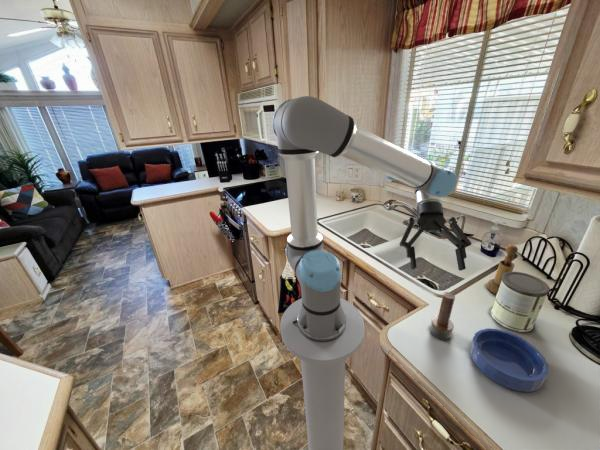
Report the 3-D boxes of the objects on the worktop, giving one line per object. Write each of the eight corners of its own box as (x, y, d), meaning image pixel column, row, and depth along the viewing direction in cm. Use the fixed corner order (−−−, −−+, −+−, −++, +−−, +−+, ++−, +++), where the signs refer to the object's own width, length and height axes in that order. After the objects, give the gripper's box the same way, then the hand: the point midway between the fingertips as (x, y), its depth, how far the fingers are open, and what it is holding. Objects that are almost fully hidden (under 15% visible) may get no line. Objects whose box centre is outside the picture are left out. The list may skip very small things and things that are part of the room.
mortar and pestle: (513, 291, 87) (530, 247, 80) (504, 298, 84) (520, 253, 77) (492, 281, 92) (506, 239, 85) (483, 288, 90) (496, 244, 82)
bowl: (487, 390, 58) (492, 377, 56) (459, 338, 71) (462, 327, 69) (558, 396, 56) (566, 383, 54) (516, 341, 69) (521, 330, 67)
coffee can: (489, 302, 83) (501, 267, 77) (530, 314, 77) (546, 277, 72) (490, 323, 75) (503, 286, 69) (535, 337, 70) (554, 298, 64)
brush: (433, 340, 71) (442, 302, 65) (427, 324, 76) (434, 288, 70) (454, 341, 70) (465, 303, 65) (446, 325, 75) (455, 289, 70)
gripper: (391, 200, 80) (397, 265, 73) (475, 199, 76) (490, 267, 69) (387, 209, 87) (391, 270, 80) (464, 209, 83) (476, 272, 76)
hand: (437, 269), depth 74 cm, fingers open, 13 cm apart
